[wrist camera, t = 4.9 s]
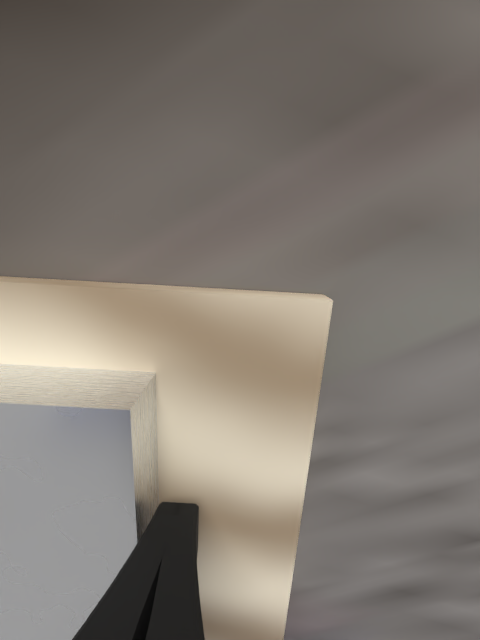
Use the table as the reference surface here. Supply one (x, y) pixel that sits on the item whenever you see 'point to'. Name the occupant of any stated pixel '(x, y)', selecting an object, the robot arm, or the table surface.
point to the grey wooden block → (70, 490)
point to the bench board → (203, 414)
